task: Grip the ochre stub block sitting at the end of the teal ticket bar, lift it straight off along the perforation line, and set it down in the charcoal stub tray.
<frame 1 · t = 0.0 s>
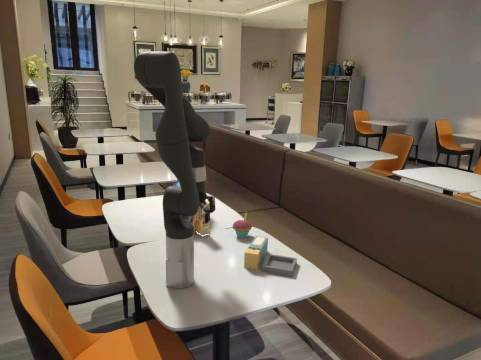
hand: (195, 221, 136), 17 cm above the table, tool pointing down, fingers open, 8 cm apart
stub: (252, 266, 141), on the table
stub tray: (279, 267, 140), on the table
ticket bar: (257, 256, 149), on the table
lunch box: (187, 218, 189), on the table
cupcake: (241, 236, 169), on the table
candy box: (201, 233, 170), on the table
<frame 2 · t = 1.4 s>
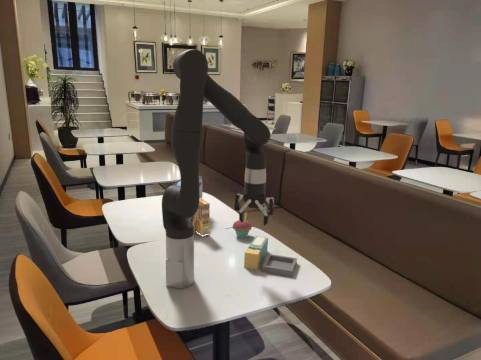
hand: (253, 223, 137), 17 cm above the table, tool pointing down, fingers open, 8 cm apart
nothing on the table moved.
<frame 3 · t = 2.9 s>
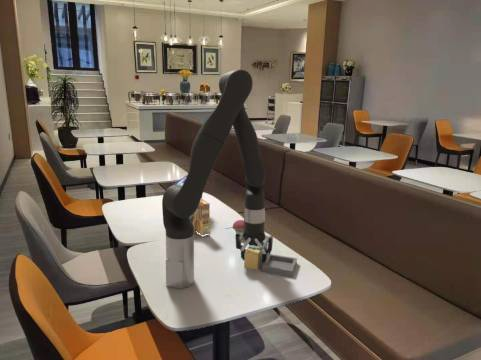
hand: (253, 260, 140), 2 cm above the table, tool pointing down, fingers open, 7 cm apart
nothing on the table moved.
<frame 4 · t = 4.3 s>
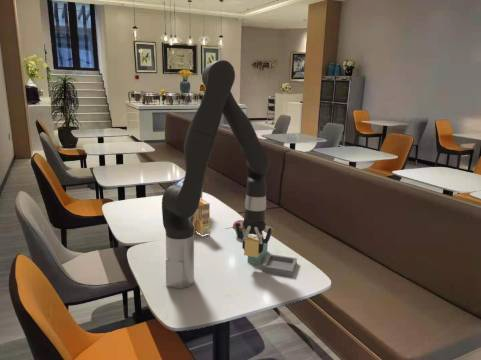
hand: (252, 251, 138), 6 cm above the table, tool pointing down, fingers closed on stub, 5 cm apart
stub: (252, 254, 138), point 5 cm above the table, touching gripper
everything else where it was.
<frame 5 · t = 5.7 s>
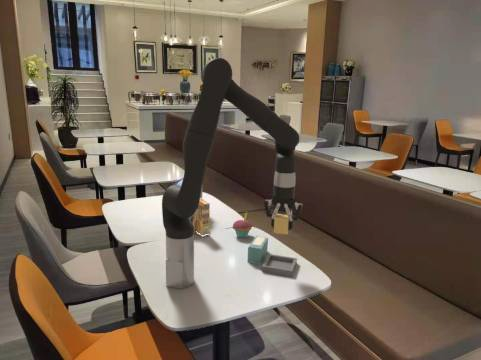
hand: (281, 228, 137), 15 cm above the table, tool pointing down, fingers closed on stub, 5 cm apart
stub: (281, 231, 137), point 14 cm above the table, touching gripper
everything else where it was.
when the fingers open (3 cm above the table, at t = 7.9 s): stub drops 1 cm, resting on stub tray.
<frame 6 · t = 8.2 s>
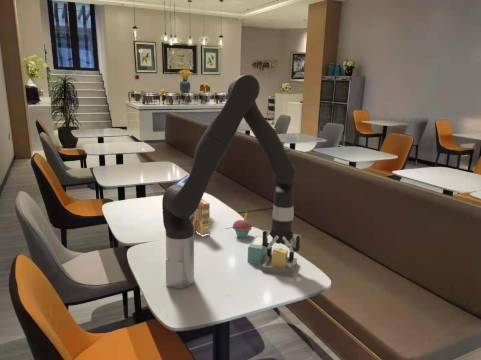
hand: (280, 258, 139), 3 cm above the table, tool pointing down, fingers open, 7 cm apart
stub: (279, 265, 140), point 1 cm above the table, touching stub tray
everything else where it was.
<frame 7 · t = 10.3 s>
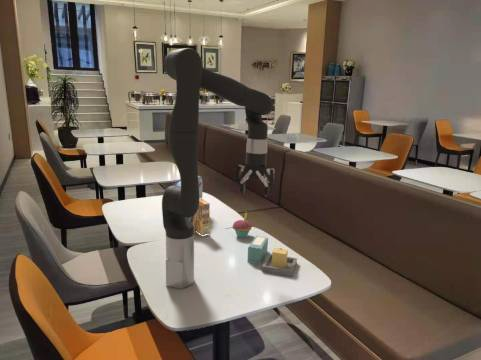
hand: (254, 194, 139), 26 cm above the table, tool pointing down, fingers open, 8 cm apart
nothing on the table moved.
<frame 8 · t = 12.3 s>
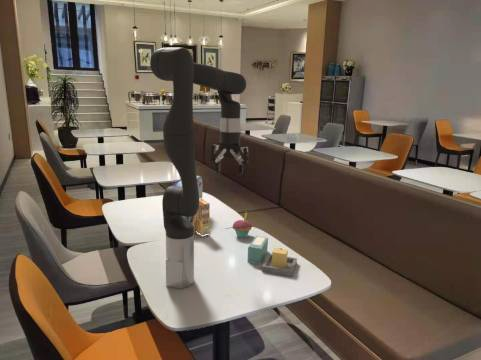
hand: (229, 173, 142), 33 cm above the table, tool pointing down, fingers open, 8 cm apart
nothing on the table moved.
at the end: stub inside the target area on the stub tray (0.2 cm from its centre), point 0.6 cm above the stub tray's base; stub touching stub tray; the gripper is holding nothing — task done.
